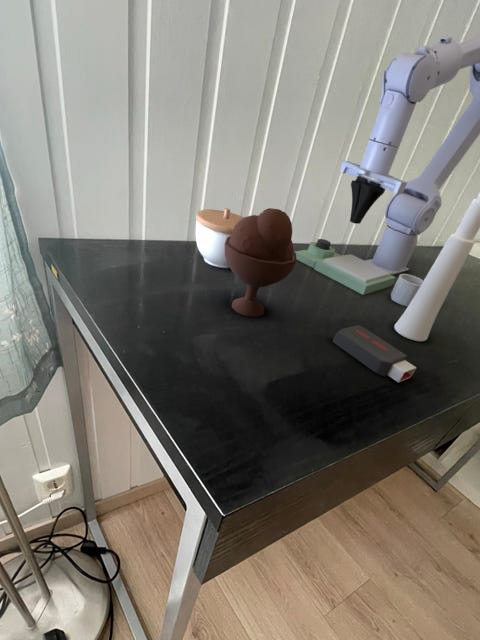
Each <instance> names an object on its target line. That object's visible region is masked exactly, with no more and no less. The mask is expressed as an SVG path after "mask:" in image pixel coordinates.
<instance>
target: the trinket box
mask: <svg viewBox="0 0 480 640" xmlns="http://www.w3.org/2000/svg"><path fill="white" fill-rule="evenodd" d="M244 217H245V216H243V215H239V214H236V213H233V212H231V209H230V208H228V207H225V208H224V210H219V209H202V210H201V209H200V210H199V211H197V213H196V217H195V220H196V223H195V241H196V242H195V243H196V246H197V249H198V251H199V253H200V255H201V256H202V257H203V260H204V262H205V263H207V264H208V265H211V266H213V267H216V268H221V269H222V268H223V269H230V267H229V266H228V264H227V261H226V257H225V241H226V239H227V237H230V236H231V235H232V232H233V229H234V226H235V225H236V224H237V223H238V221H240V220H241V219H243V218H244Z"/></svg>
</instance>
